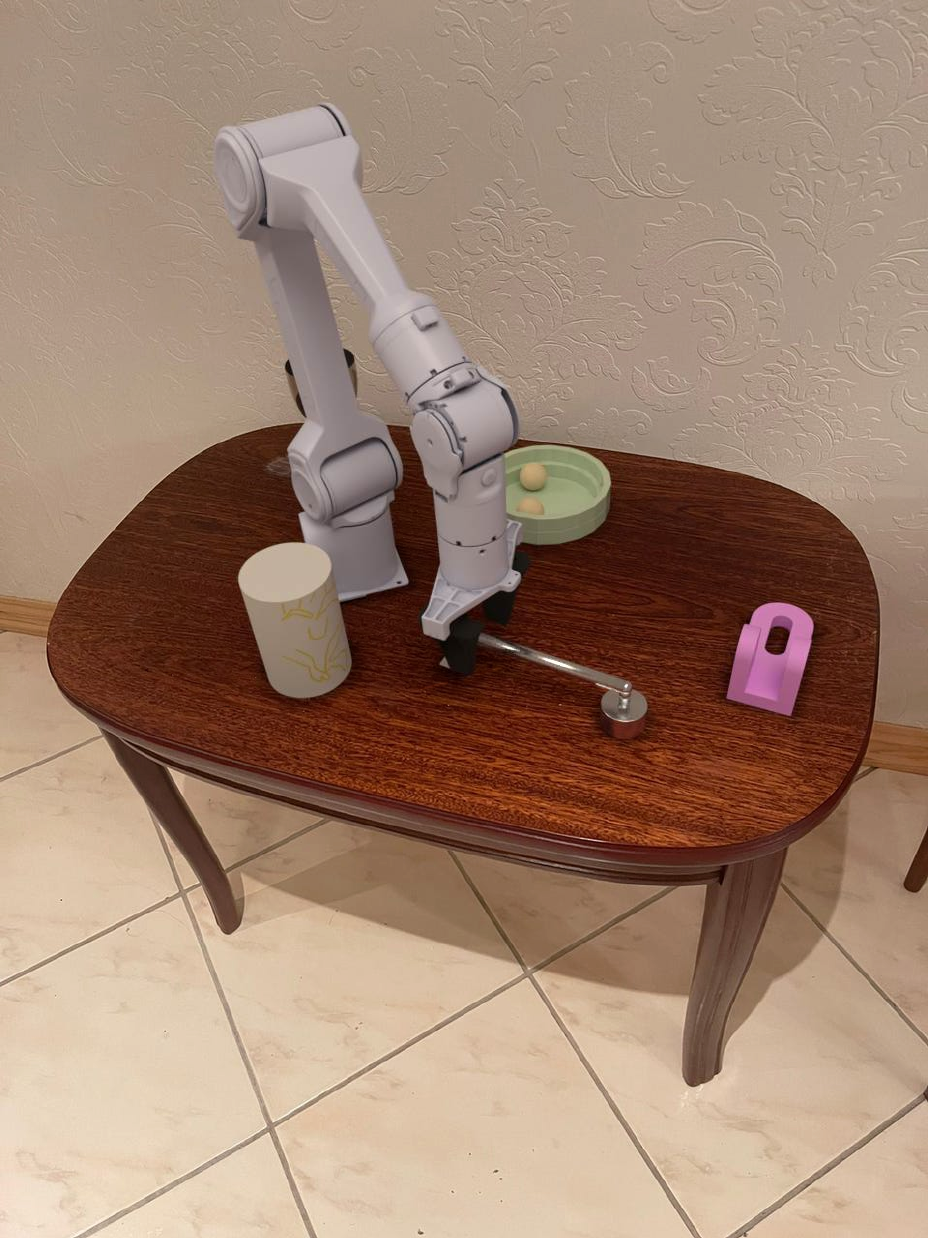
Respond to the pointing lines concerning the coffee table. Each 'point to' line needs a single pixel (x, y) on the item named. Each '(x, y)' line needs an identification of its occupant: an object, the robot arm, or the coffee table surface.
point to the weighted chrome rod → (618, 705)
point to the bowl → (558, 493)
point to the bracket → (771, 659)
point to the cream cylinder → (296, 618)
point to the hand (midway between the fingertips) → (480, 645)
